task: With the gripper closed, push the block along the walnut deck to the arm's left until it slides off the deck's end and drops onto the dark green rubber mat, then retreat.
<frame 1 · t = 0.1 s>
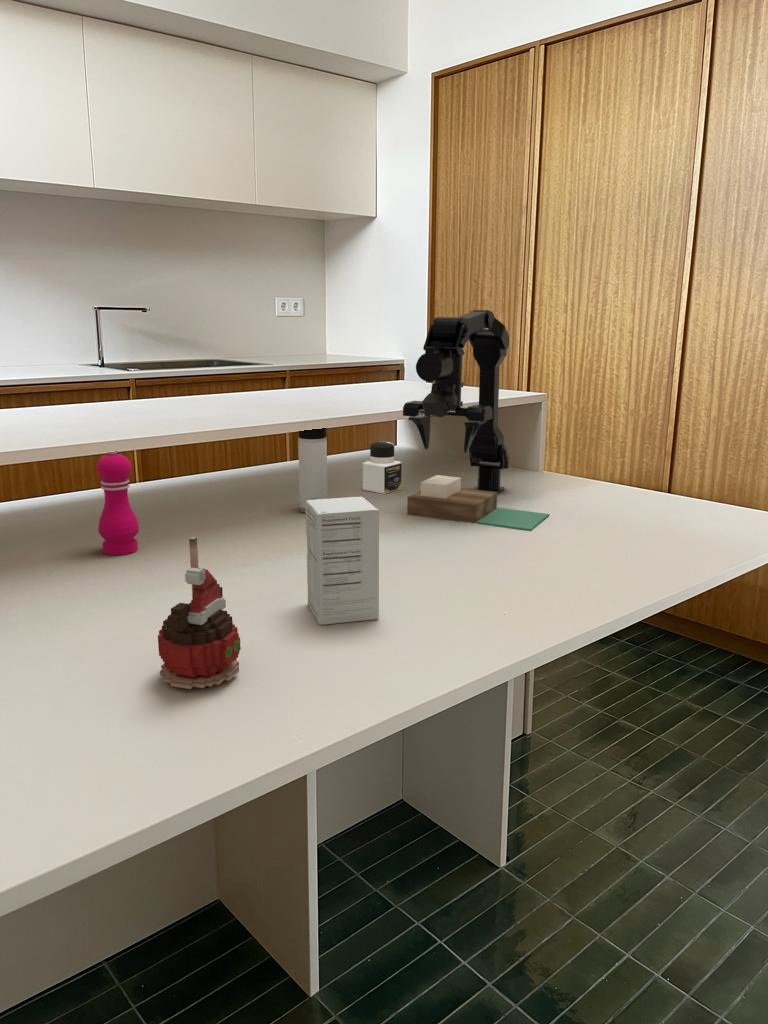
hand: (446, 450, 172), 15 cm above the kitchen island, tool pointing down, fingers open, 9 cm apart
deck: (452, 511, 179), on the kitchen island
supplement box: (342, 612, 121), on the kitchen island
block: (440, 492, 180), point 4 cm above the kitchen island, touching deck
medicine bottle: (382, 490, 200), on the kitchen island
mat: (513, 519, 173), on the kitchen island
cake: (200, 677, 100), on the kitchen island
pepper mill: (120, 551, 149), on the kitchen island
travel mug: (314, 511, 180), on the kitchen island
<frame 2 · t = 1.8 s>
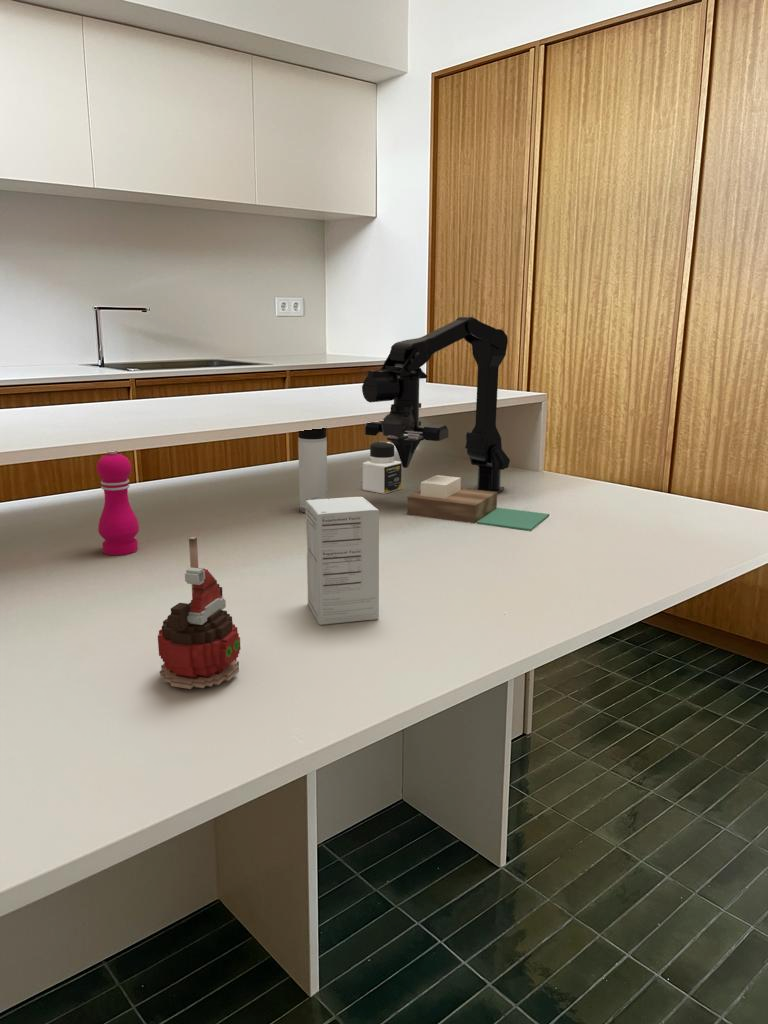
hand: (405, 467, 182), 9 cm above the kitchen island, tool pointing down, fingers closed
nothing on the kitchen island moved.
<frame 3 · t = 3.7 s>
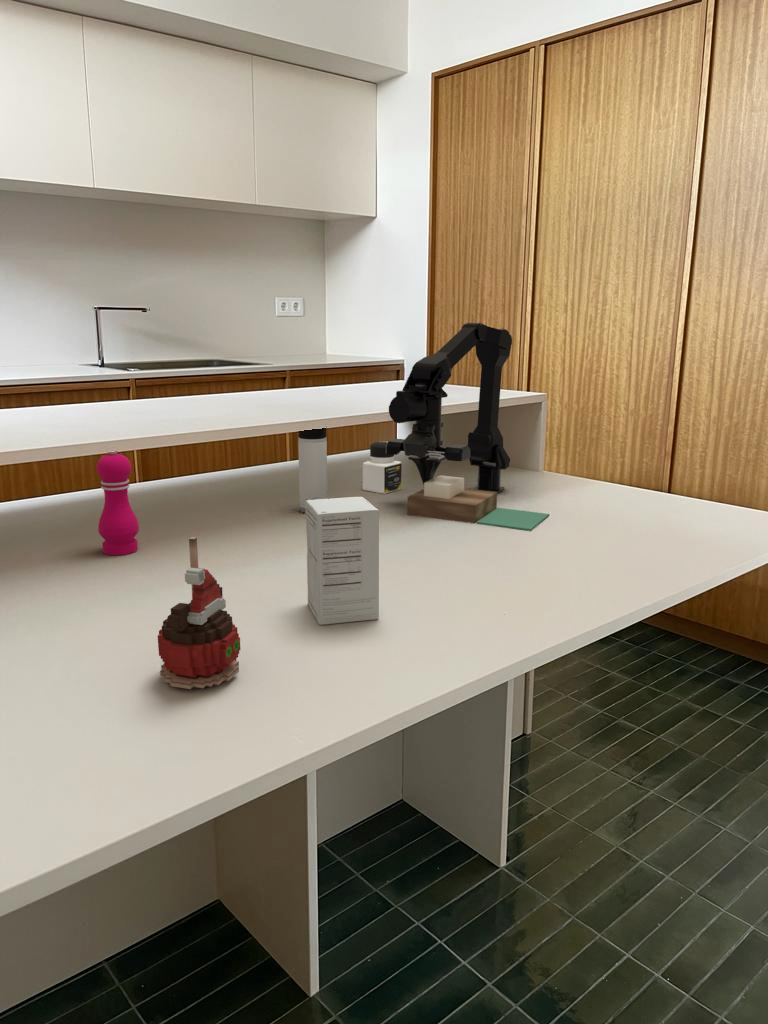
hand: (426, 487, 181), 5 cm above the kitchen island, tool pointing down, fingers closed
block: (444, 493, 179), point 4 cm above the kitchen island, touching gripper
everything else where it was.
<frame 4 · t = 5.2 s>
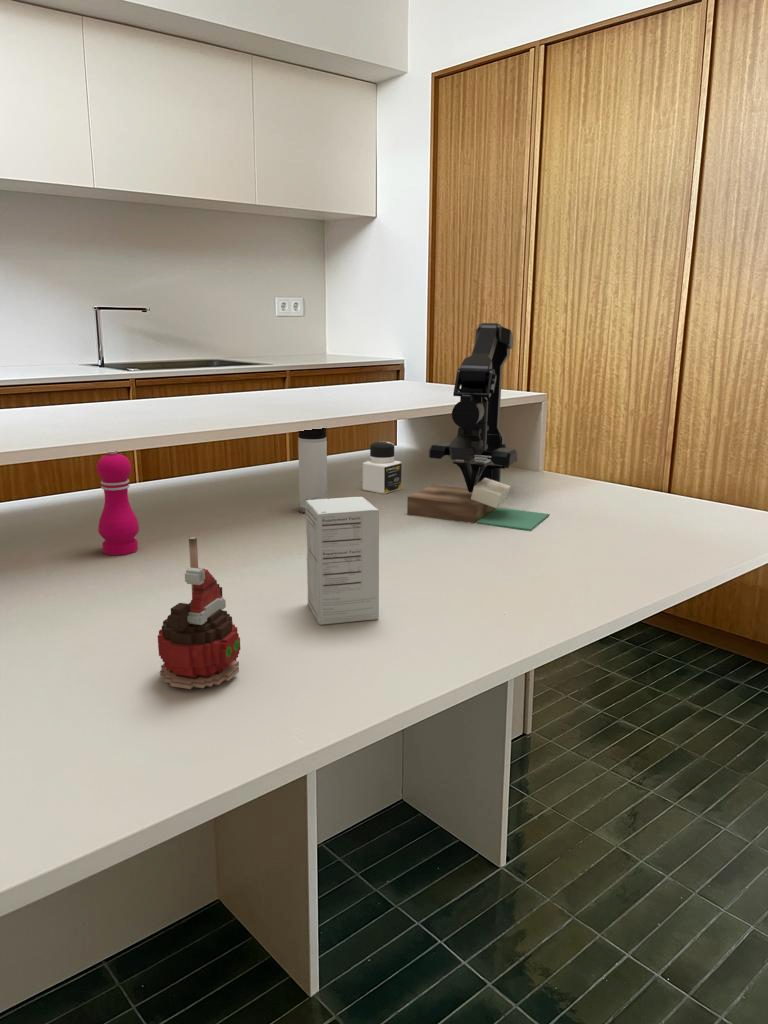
hand: (471, 492, 176), 5 cm above the kitchen island, tool pointing down, fingers closed
block: (488, 498, 175), point 4 cm above the kitchen island, tilted 14°, touching deck
everything else where it was.
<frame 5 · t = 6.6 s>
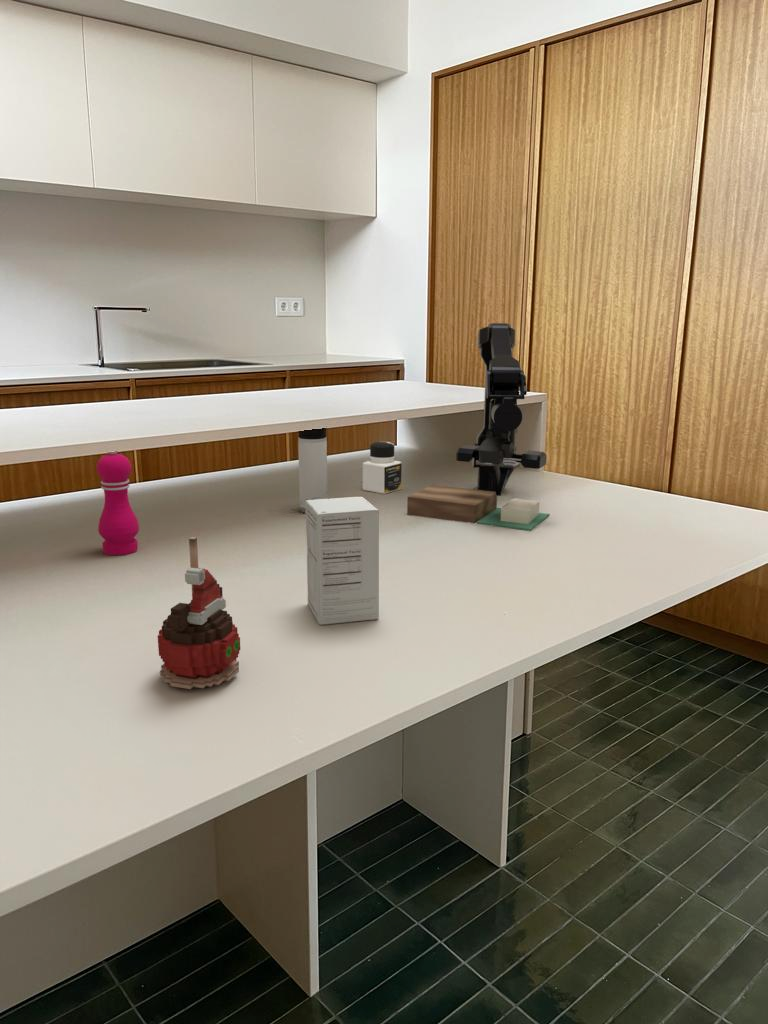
hand: (499, 495, 173), 5 cm above the kitchen island, tool pointing down, fingers closed
block: (520, 504, 173), point 3 cm above the kitchen island, tilted 180°, touching mat
everything else where it was.
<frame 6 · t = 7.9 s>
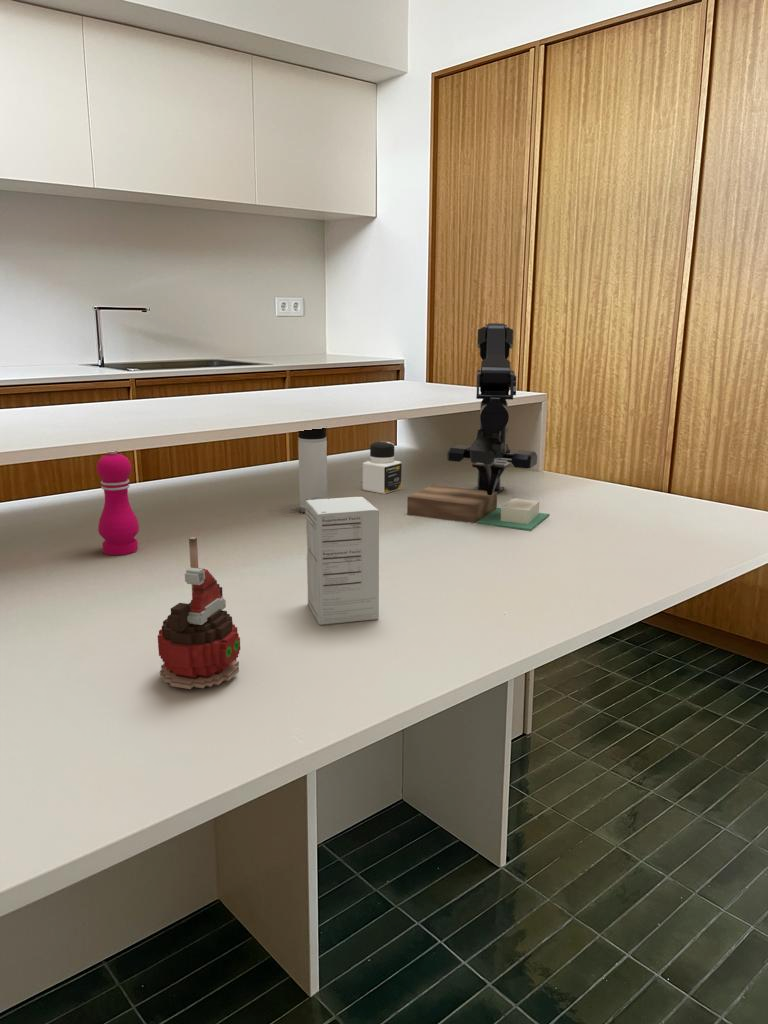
hand: (490, 494, 175), 5 cm above the kitchen island, tool pointing down, fingers closed
nothing on the kitchen island moved.
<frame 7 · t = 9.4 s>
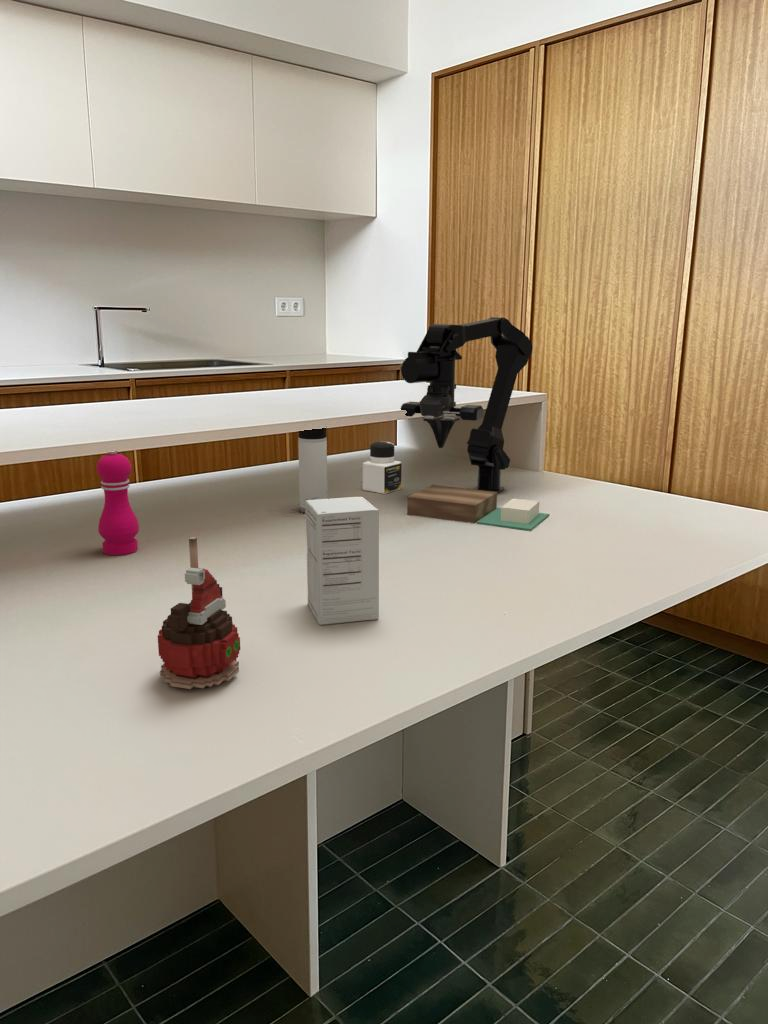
hand: (440, 447, 186), 13 cm above the kitchen island, tool pointing down, fingers closed
nothing on the kitchen island moved.
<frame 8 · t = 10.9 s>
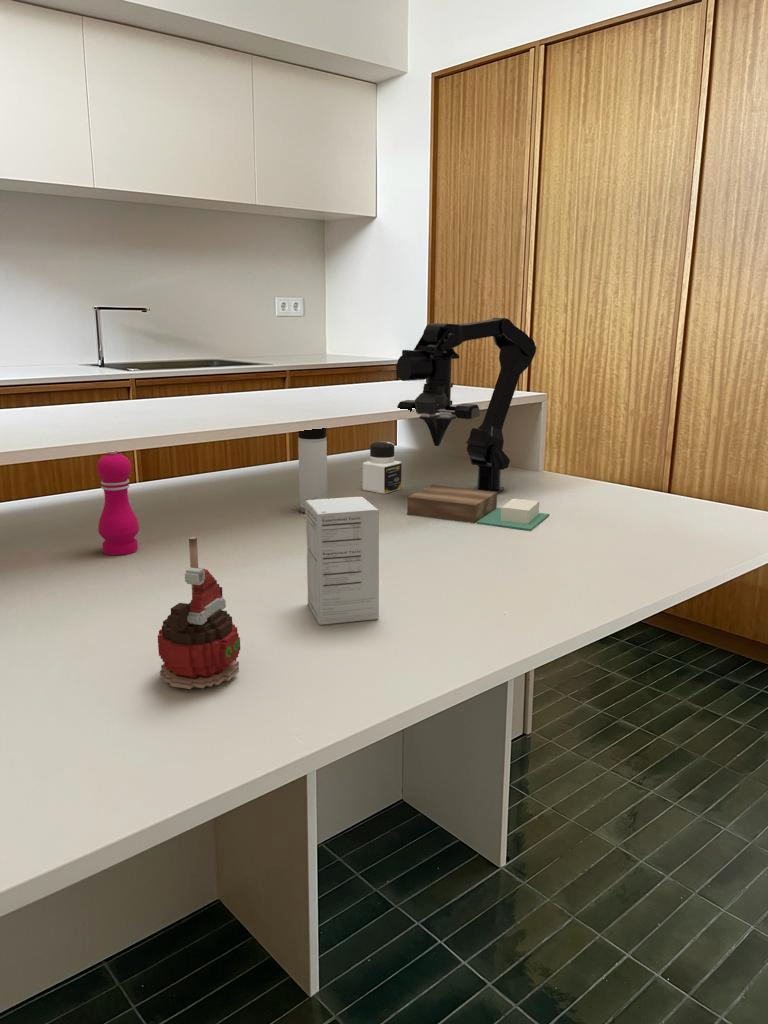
hand: (436, 445, 187), 13 cm above the kitchen island, tool pointing down, fingers closed
nothing on the kitchen island moved.
at the end: block inside the target area on the mat (1.1 cm from its centre), point 3.4 cm above the mat's base; block point 3.4 cm above the kitchen island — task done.
